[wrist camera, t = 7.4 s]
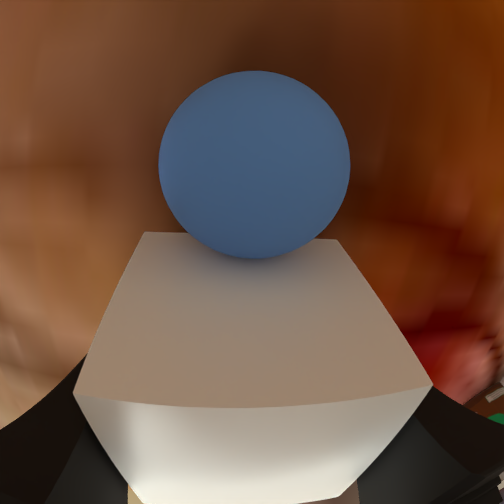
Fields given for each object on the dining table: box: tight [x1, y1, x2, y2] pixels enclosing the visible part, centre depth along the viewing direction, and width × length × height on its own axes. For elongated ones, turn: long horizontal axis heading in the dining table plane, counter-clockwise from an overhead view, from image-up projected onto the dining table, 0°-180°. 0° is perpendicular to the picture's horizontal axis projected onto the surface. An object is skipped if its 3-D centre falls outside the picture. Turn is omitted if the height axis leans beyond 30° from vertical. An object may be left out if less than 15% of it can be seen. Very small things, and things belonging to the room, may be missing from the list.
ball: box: [158, 71, 350, 259], centre depth 8 cm, size 5×5×5 cm
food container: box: [463, 383, 504, 481], centre depth 19 cm, size 12×6×10 cm, turn 169°
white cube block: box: [73, 232, 433, 504], centre depth 9 cm, size 6×6×6 cm
